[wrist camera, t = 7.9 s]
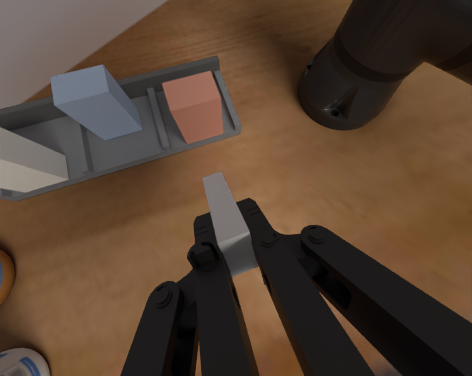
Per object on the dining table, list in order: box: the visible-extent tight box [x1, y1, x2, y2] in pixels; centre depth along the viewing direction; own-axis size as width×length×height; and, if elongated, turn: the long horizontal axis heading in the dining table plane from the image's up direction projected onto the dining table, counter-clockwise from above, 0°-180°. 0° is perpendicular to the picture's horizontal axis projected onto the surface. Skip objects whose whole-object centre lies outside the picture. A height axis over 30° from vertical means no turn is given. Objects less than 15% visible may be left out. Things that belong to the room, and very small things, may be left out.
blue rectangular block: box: [50, 65, 143, 140], centre depth 24 cm, size 6×4×8 cm, turn 109°
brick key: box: [162, 71, 223, 144], centre depth 24 cm, size 6×4×8 cm, turn 109°
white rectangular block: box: [0, 127, 69, 192], centre depth 22 cm, size 6×4×8 cm, turn 109°
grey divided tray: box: [0, 56, 241, 201], centre depth 27 cm, size 36×12×4 cm, turn 109°
